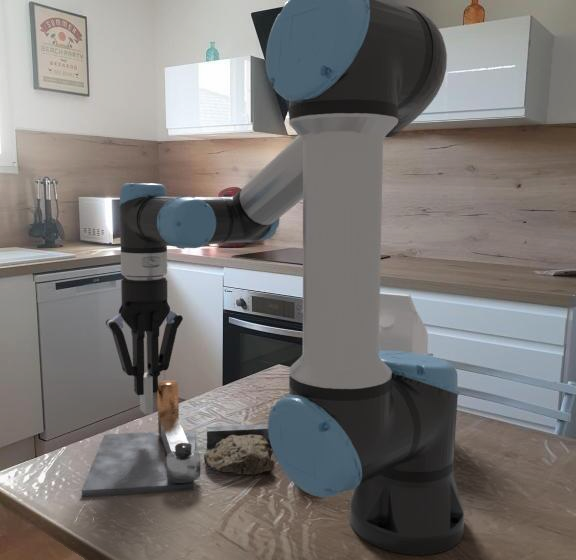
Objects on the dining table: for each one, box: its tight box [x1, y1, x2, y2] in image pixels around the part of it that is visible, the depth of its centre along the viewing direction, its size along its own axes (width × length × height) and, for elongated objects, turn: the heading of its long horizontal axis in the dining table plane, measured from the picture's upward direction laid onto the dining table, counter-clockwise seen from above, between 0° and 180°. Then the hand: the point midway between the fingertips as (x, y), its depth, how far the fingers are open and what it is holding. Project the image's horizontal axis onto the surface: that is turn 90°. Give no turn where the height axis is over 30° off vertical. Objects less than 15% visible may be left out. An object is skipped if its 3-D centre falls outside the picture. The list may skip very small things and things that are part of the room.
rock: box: [203, 435, 275, 476], centre depth 96 cm, size 11×11×4 cm
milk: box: [379, 291, 429, 356], centre depth 108 cm, size 12×12×26 cm
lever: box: [156, 379, 201, 483], centre depth 96 cm, size 21×5×9 cm, turn 19°
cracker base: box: [81, 423, 271, 498], centre depth 97 cm, size 20×34×7 cm, turn 98°
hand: (146, 411), depth 102 cm, fingers closed
